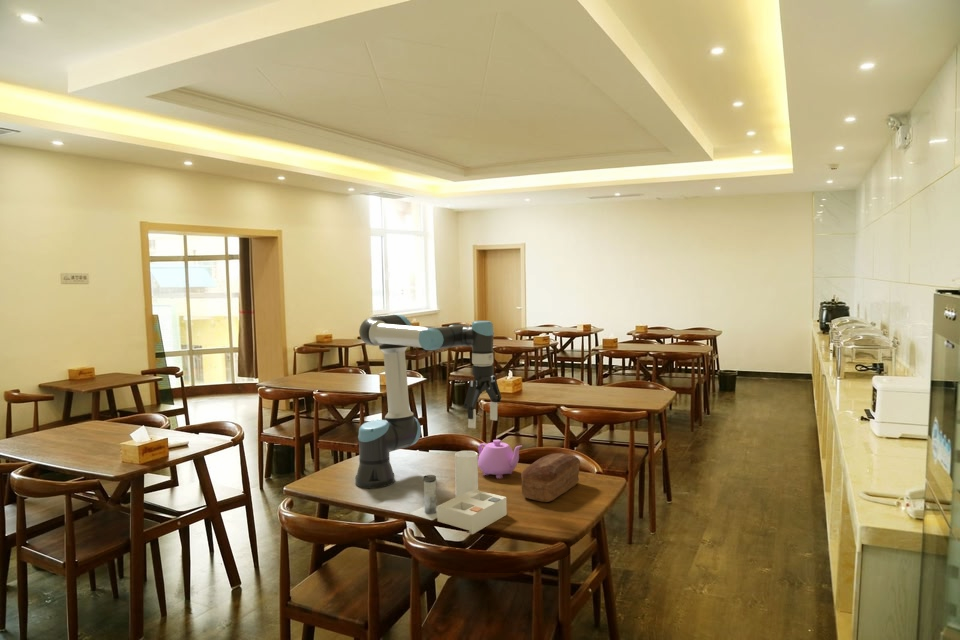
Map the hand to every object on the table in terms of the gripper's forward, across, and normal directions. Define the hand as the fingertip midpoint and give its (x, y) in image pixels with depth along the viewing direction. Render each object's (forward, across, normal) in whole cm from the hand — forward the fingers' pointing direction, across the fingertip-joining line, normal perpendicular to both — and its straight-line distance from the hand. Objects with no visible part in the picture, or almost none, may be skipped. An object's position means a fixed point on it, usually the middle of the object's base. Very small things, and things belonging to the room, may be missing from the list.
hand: (483, 423), depth 217 cm
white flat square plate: (+27, -22, +6) cm, 36 cm away
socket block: (+27, -18, -8) cm, 33 cm away
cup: (+28, -2, +6) cm, 28 cm away
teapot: (+28, +26, +10) cm, 39 cm away
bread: (+27, +20, -17) cm, 38 cm away
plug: (+26, -22, +6) cm, 35 cm away
